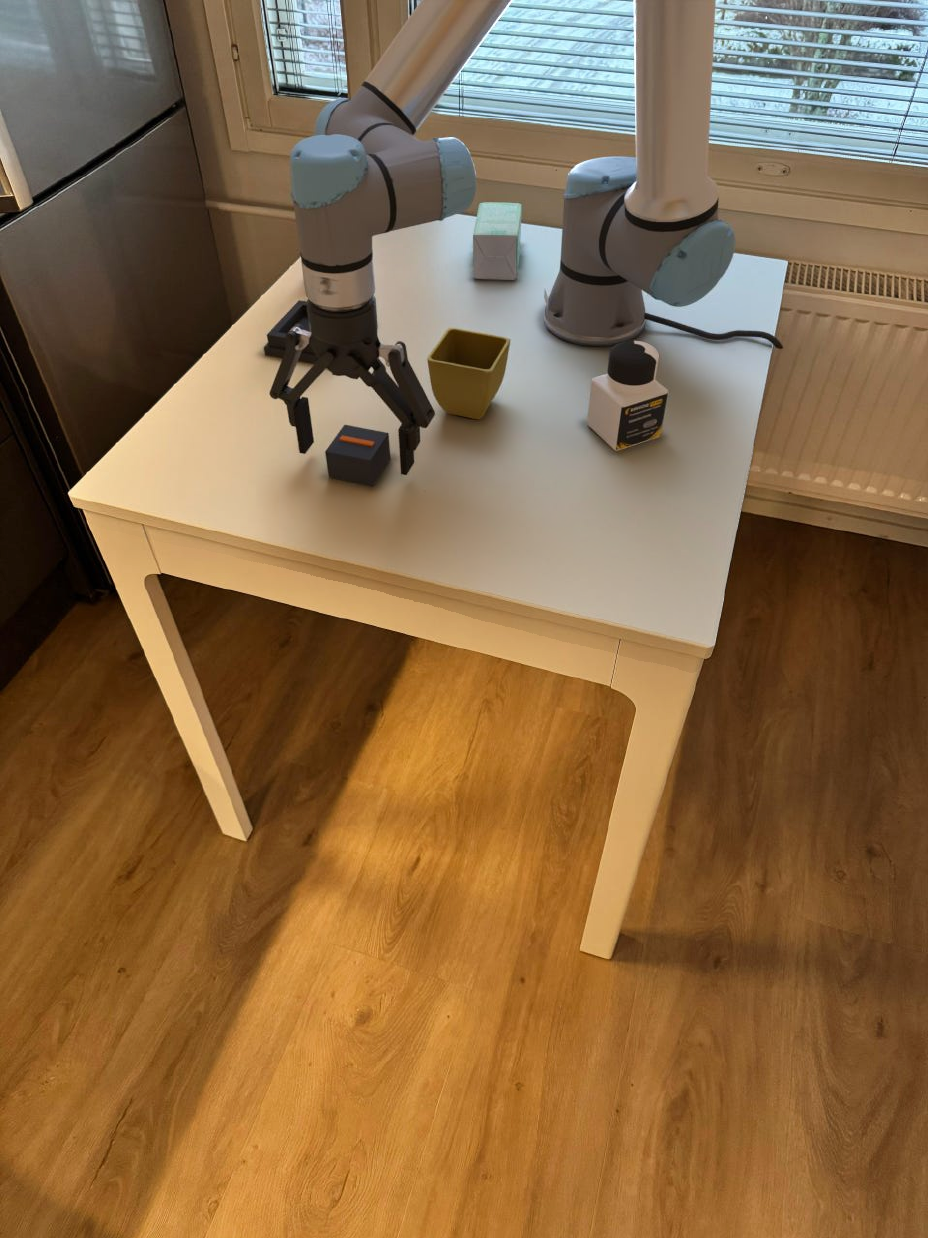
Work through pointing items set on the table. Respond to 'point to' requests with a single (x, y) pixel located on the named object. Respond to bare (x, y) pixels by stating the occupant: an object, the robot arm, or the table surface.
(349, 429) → the dark grey square block
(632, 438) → the medicine bottle
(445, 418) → the table surface
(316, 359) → the base pad
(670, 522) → the table surface
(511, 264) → the box
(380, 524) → the table surface
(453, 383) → the flower pot
